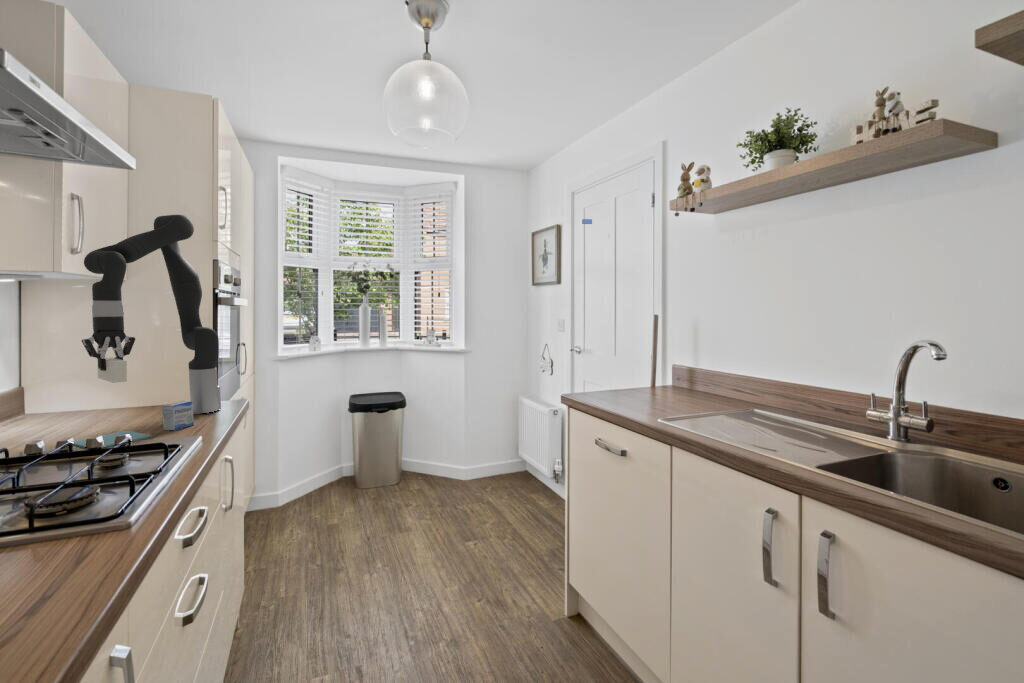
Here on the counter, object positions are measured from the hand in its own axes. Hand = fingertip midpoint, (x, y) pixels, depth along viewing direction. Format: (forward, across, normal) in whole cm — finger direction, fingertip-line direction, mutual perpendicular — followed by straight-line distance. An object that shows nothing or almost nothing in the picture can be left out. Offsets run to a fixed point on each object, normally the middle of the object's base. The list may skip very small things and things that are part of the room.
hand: (110, 369), depth 153 cm
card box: (0, 0, +5) cm, 5 cm away
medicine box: (+22, -16, +7) cm, 28 cm away
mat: (+22, +3, +5) cm, 22 cm away
